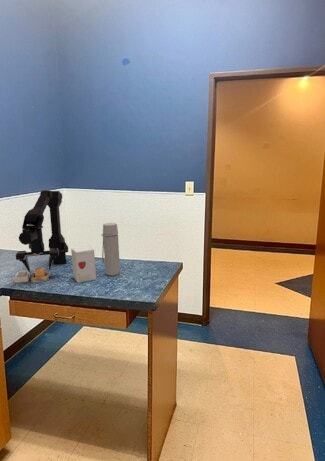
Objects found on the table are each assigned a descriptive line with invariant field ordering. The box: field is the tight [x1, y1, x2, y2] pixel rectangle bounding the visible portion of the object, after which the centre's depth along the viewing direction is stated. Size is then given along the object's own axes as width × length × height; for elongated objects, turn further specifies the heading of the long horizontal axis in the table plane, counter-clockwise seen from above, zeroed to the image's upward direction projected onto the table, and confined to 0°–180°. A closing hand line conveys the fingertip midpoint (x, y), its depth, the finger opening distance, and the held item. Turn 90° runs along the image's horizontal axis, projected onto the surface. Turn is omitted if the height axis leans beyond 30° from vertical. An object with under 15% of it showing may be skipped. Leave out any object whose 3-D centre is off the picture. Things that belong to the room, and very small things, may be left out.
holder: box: [30, 270, 50, 284], centre depth 160 cm, size 8×8×2 cm
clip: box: [13, 271, 31, 284], centre depth 160 cm, size 6×8×2 cm
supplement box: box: [70, 245, 97, 284], centre depth 157 cm, size 9×9×15 cm
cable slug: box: [18, 270, 28, 277], centre depth 160 cm, size 3×5×4 cm, turn 15°
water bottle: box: [101, 222, 121, 276], centre depth 162 cm, size 9×8×25 cm
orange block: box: [34, 266, 46, 278], centre depth 159 cm, size 4×4×5 cm
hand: (39, 270), depth 159 cm, fingers open, 9 cm apart
